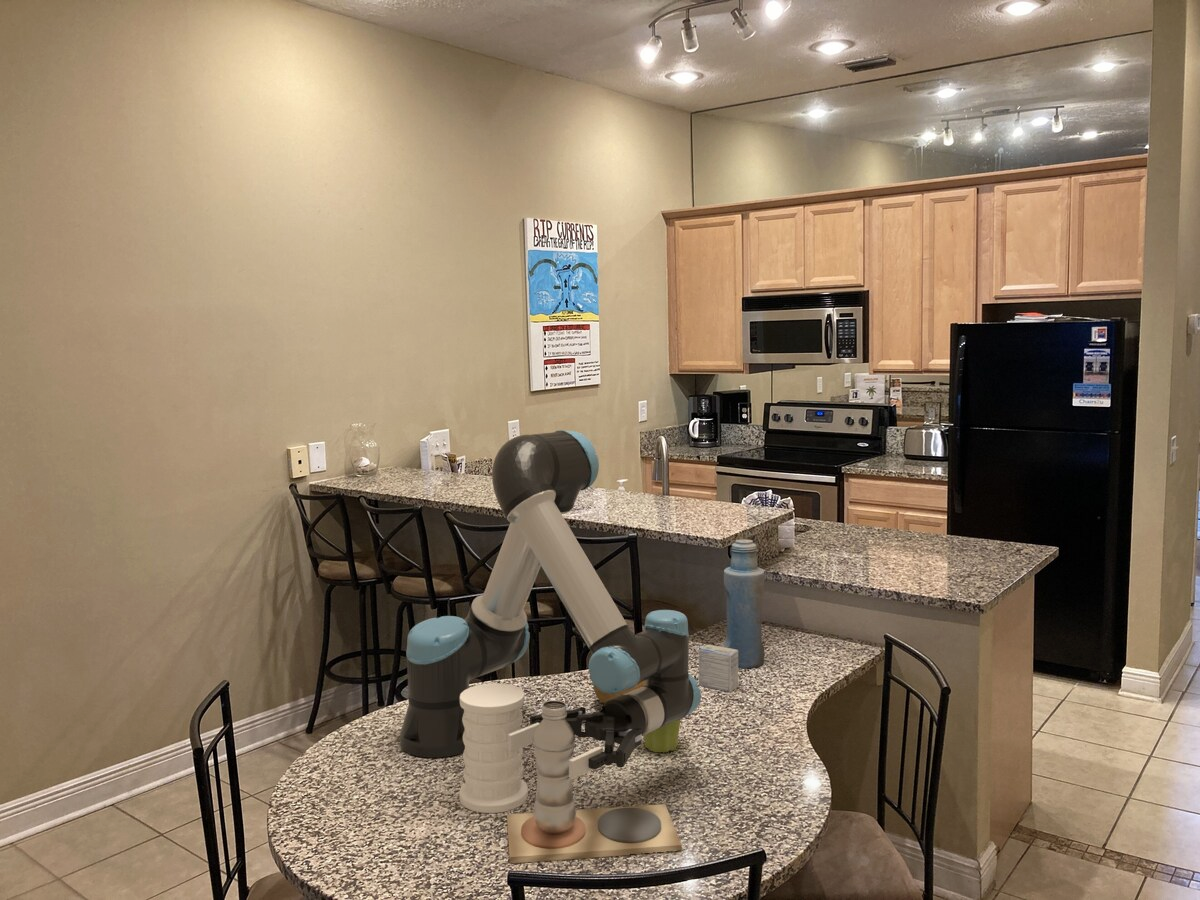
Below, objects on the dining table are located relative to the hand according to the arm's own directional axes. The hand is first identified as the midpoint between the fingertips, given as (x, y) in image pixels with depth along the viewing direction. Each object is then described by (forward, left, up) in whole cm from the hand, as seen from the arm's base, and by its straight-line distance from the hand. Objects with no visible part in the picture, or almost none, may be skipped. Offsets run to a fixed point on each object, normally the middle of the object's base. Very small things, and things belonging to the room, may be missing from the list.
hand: (538, 756), depth 144 cm
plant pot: (+25, +33, -14) cm, 44 cm away
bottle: (+54, +78, -14) cm, 96 cm away
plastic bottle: (+2, +2, -13) cm, 13 cm away
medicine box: (+44, +63, -14) cm, 78 cm away
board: (+8, +2, -14) cm, 17 cm away
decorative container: (-7, +17, -14) cm, 23 cm away
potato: (+21, +56, -14) cm, 61 cm away
